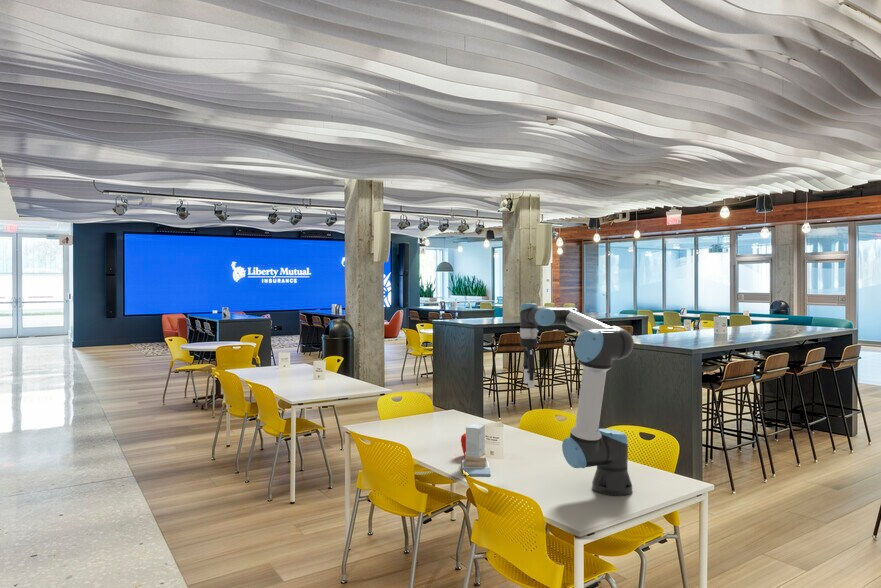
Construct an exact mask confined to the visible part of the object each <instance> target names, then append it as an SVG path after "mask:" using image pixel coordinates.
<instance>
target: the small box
mask: <svg viewBox="0 0 881 588" xmlns="http://www.w3.org/2000/svg"><path fill="white" fill-rule="evenodd" d="M485 426H486V425H485V424H481V423H480V424H478V423H471V424H469V425H468V426H466V427H465V433H466V457H475V458H479V457H481V456H482V455H483V454H484V453H485V454H486V449H485V445H486V444H485V443H486V442H485V441H486V438H485V437H486V431H485V430H486V429H485V428H486V427H485Z"/></svg>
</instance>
